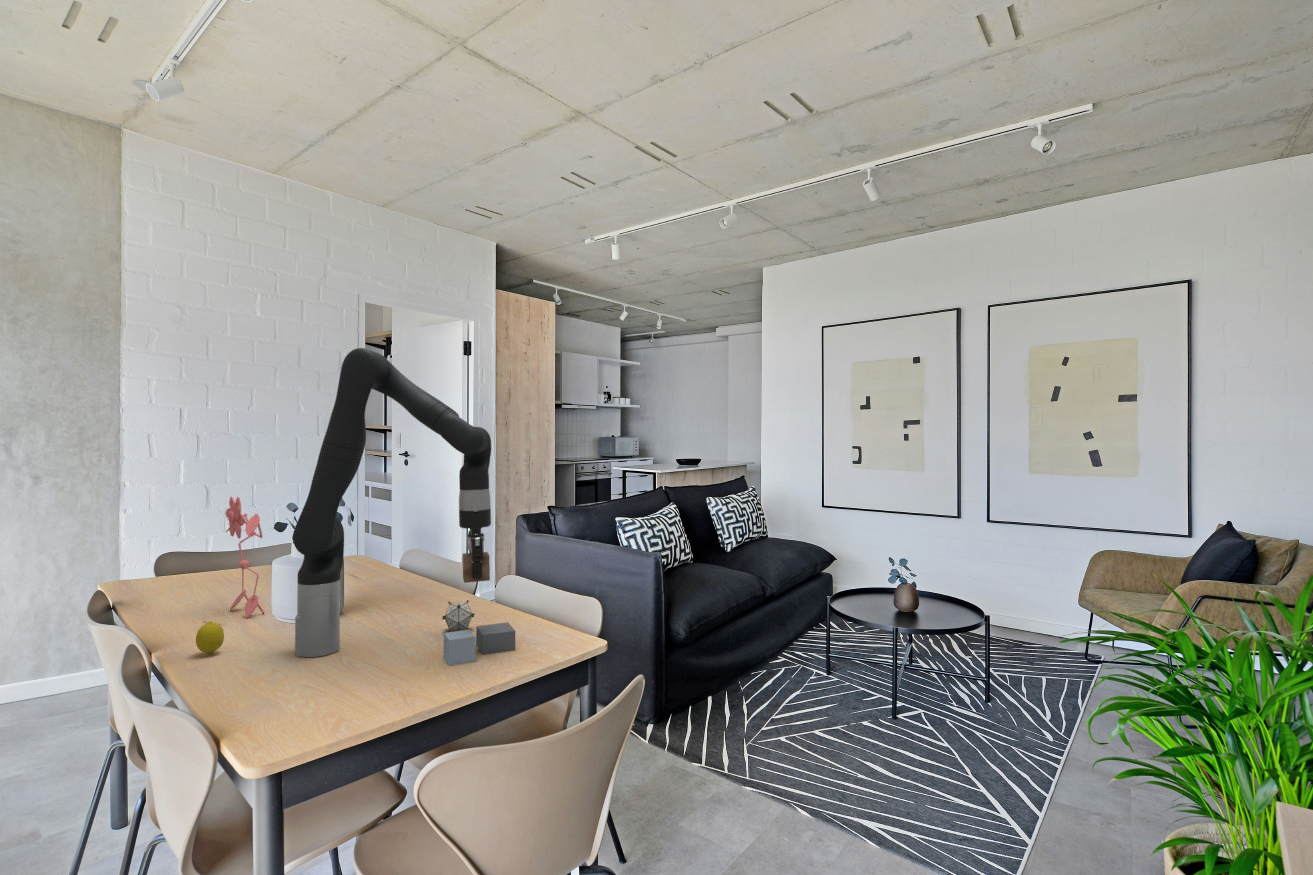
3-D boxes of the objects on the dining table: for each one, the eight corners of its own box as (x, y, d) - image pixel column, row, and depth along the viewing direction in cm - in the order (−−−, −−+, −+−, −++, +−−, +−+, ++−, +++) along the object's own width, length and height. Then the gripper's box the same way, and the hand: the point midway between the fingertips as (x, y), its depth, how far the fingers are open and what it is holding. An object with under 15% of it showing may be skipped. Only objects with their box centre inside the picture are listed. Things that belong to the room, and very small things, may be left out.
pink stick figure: (247, 602, 198) (246, 491, 197) (278, 618, 181) (276, 497, 180) (188, 613, 186) (186, 495, 186) (214, 632, 169) (212, 502, 169)
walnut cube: (464, 582, 151) (463, 557, 151) (463, 577, 157) (462, 553, 157) (489, 580, 153) (489, 555, 153) (487, 575, 159) (487, 551, 159)
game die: (461, 646, 170) (462, 623, 164) (434, 633, 171) (434, 609, 165) (480, 622, 177) (482, 599, 171) (455, 609, 178) (455, 586, 173)
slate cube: (449, 666, 145) (449, 640, 145) (443, 658, 150) (443, 632, 150) (475, 661, 148) (475, 636, 148) (468, 653, 153) (469, 629, 153)
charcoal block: (482, 655, 153) (482, 634, 153) (476, 645, 160) (476, 626, 160) (515, 650, 156) (515, 630, 156) (507, 641, 163) (507, 622, 163)
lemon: (193, 659, 147) (194, 625, 148) (198, 652, 152) (198, 619, 152) (222, 656, 150) (222, 622, 150) (225, 649, 155) (225, 616, 155)
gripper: (457, 505, 161) (459, 571, 161) (460, 511, 147) (461, 583, 147) (488, 503, 163) (489, 568, 163) (493, 509, 150) (494, 580, 150)
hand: (476, 575), depth 155 cm, fingers closed on walnut cube, 6 cm apart
